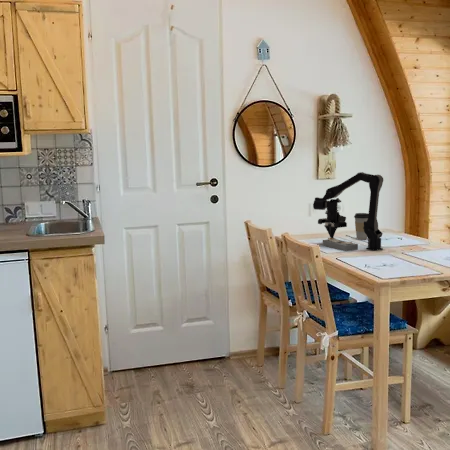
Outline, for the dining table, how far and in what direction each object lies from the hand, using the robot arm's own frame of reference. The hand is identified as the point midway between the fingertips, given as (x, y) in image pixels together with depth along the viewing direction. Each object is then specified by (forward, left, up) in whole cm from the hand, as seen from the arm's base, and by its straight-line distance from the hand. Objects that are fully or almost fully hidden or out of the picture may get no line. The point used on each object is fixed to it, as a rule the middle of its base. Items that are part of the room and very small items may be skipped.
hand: (331, 238), depth 291 cm
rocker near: (-12, 0, -1) cm, 12 cm away
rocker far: (-2, 0, -1) cm, 2 cm away
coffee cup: (+7, -28, -4) cm, 29 cm away
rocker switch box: (-7, 0, -4) cm, 8 cm away
